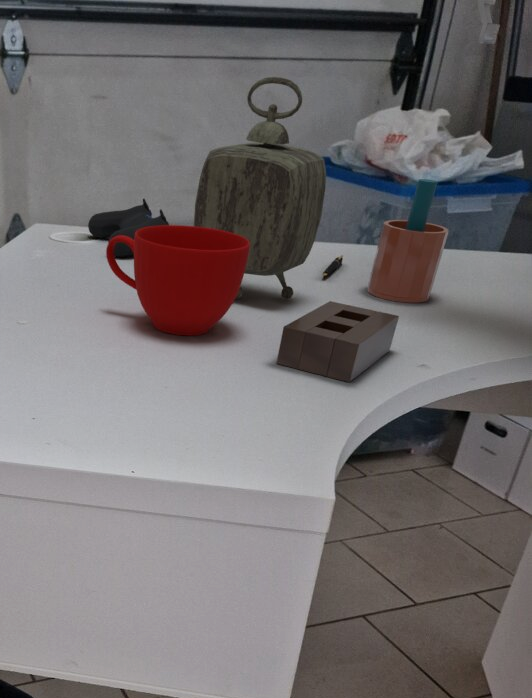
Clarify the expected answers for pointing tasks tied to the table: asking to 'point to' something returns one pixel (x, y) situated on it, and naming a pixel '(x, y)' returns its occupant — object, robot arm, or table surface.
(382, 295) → the tumbler
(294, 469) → the table surface
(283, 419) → the table surface
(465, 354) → the table surface
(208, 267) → the ceramic cup
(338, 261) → the fountain pen
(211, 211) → the tabletop clock
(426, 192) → the teal square bar
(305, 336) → the holder
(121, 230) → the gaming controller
